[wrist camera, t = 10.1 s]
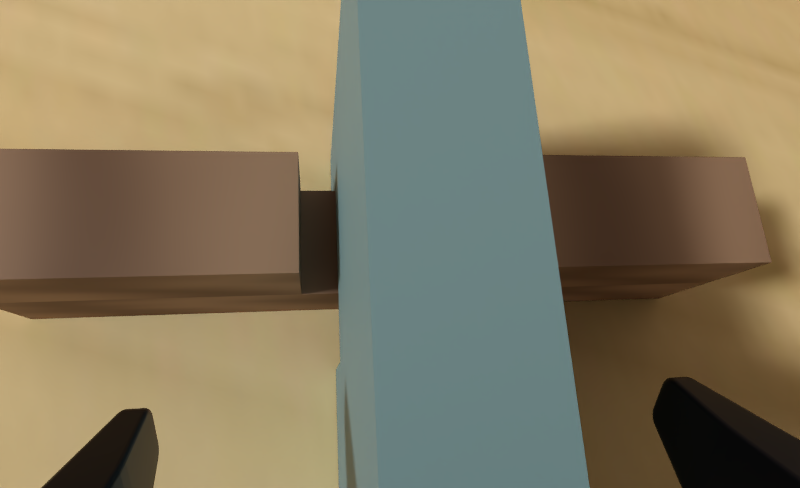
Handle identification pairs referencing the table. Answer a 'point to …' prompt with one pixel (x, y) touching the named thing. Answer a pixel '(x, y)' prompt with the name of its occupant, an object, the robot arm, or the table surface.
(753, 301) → the table surface
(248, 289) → the walnut slotted rail
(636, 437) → the table surface
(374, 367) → the teal slotted plate
